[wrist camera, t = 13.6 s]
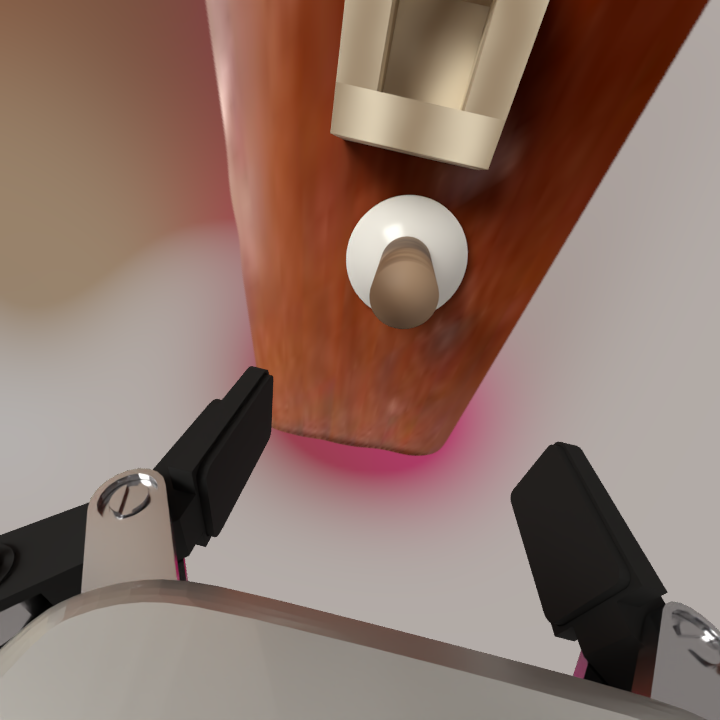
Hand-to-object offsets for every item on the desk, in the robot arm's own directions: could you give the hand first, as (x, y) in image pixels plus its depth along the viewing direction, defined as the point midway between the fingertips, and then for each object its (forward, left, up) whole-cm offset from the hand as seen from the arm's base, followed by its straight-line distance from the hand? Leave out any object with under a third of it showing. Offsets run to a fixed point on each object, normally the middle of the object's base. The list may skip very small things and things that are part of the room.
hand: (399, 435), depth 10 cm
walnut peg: (0, 0, -24) cm, 24 cm away
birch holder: (-9, -12, -25) cm, 29 cm away
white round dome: (0, 0, -25) cm, 25 cm away
